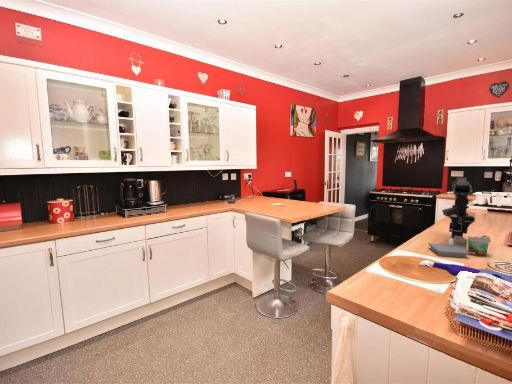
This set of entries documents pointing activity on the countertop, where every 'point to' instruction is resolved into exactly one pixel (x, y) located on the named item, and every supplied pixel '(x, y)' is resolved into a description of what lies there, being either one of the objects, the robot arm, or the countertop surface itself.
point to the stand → (448, 250)
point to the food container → (478, 245)
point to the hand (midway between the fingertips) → (458, 230)
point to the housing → (458, 241)
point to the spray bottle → (450, 267)
